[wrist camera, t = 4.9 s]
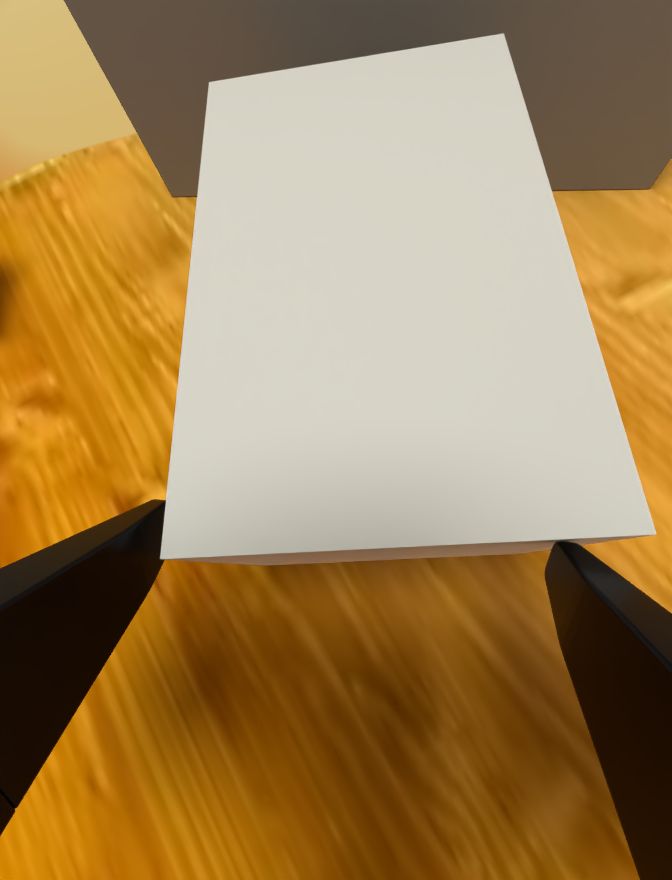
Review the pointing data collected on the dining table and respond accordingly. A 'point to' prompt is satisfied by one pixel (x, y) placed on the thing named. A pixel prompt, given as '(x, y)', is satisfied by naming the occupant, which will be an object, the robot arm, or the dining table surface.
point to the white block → (387, 327)
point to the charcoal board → (393, 29)
